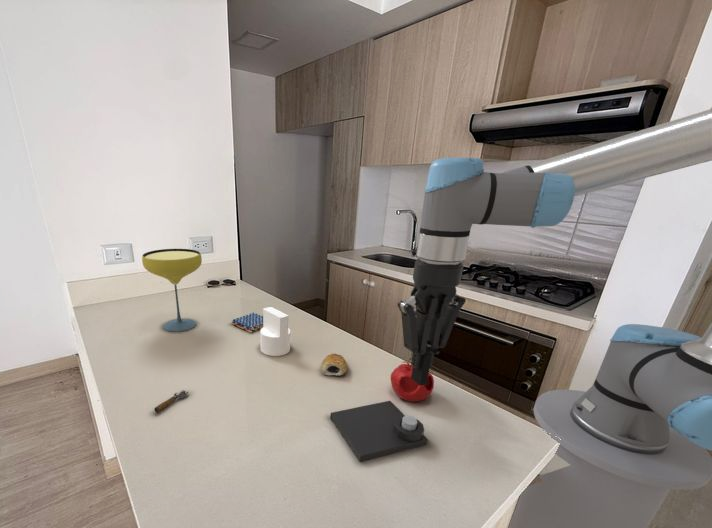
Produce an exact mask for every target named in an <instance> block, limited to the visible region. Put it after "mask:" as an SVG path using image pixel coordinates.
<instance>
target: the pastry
mask: <svg viewBox="0 0 712 528" xmlns="http://www.w3.org/2000/svg"><path fill="white" fill-rule="evenodd" d="M320 371H321V373H322V374H323V375H324V376H336V377H339V376H343V375H345V374H346V373H347V371H348V363H347V361H346V359H345V358H344V356H343V355H341V354H337V353H330V354H328V355H327V356H325V357H324V359H323V360H322V362H321V369H320Z"/></svg>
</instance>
